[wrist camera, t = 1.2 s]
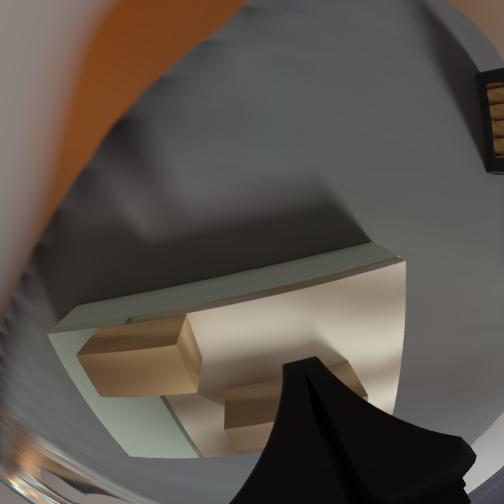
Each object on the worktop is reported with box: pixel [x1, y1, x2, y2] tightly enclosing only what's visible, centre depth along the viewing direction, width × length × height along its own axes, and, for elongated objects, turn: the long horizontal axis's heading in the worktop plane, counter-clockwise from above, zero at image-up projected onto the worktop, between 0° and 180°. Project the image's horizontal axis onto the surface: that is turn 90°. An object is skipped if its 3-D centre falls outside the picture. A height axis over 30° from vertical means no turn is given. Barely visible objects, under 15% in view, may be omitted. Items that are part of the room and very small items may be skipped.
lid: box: [130, 257, 406, 457], centre depth 15 cm, size 14×16×4 cm
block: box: [76, 314, 203, 397], centre depth 13 cm, size 3×6×3 cm, turn 102°
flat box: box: [47, 242, 400, 458], centre depth 19 cm, size 14×24×5 cm, turn 102°
